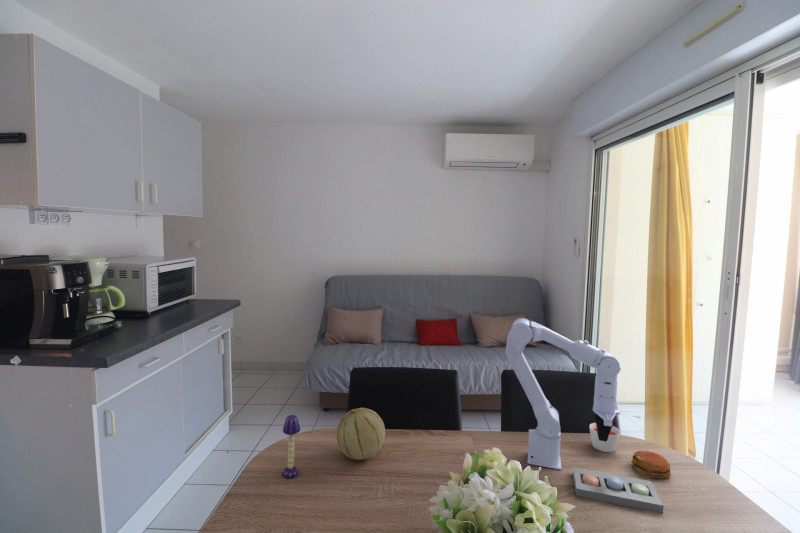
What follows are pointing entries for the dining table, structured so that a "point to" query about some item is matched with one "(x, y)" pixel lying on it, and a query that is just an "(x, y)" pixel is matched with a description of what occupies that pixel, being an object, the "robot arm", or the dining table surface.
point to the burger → (651, 464)
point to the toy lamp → (291, 444)
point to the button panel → (617, 491)
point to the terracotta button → (590, 480)
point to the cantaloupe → (360, 433)
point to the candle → (604, 445)
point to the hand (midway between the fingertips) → (602, 440)
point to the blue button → (614, 483)
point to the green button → (639, 489)
